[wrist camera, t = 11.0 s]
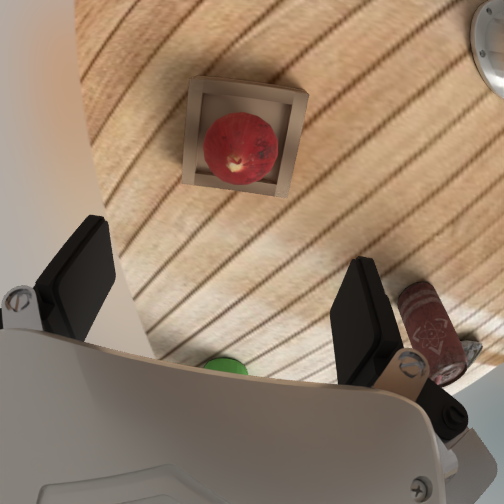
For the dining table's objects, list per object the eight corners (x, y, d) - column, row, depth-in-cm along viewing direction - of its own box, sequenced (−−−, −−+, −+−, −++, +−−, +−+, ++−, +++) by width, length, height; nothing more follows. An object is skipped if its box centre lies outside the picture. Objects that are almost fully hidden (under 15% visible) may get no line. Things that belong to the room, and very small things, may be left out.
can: (388, 310, 43) (414, 392, 31) (409, 277, 39) (445, 361, 28) (420, 314, 43) (449, 391, 32) (441, 283, 40) (479, 361, 28)
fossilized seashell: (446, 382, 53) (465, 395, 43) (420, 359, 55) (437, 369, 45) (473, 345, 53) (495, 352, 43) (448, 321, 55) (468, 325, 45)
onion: (275, 103, 25) (278, 123, 19) (277, 164, 29) (281, 204, 22) (207, 108, 26) (187, 129, 19) (214, 167, 29) (198, 207, 22)
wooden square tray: (197, 75, 26) (189, 78, 23) (304, 90, 27) (309, 94, 24) (188, 170, 32) (181, 183, 29) (285, 184, 32) (287, 198, 30)
